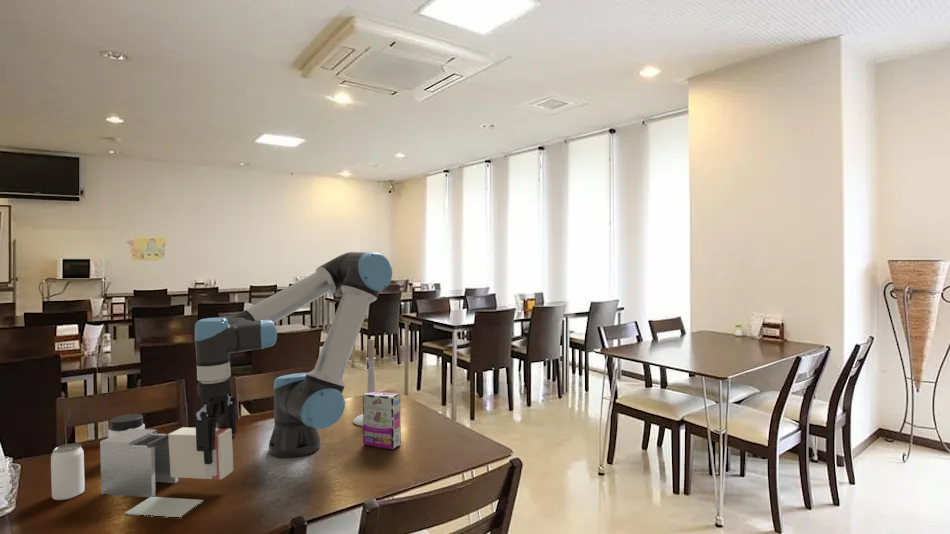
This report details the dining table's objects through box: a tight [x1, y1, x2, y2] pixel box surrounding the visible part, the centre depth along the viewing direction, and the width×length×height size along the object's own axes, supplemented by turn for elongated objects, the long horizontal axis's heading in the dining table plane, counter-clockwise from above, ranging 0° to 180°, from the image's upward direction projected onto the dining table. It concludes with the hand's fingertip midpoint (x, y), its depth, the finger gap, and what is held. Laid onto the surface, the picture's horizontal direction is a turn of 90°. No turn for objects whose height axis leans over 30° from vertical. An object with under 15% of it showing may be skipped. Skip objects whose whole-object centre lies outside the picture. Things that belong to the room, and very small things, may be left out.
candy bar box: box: [362, 390, 402, 450], centre depth 162 cm, size 11×5×16 cm, turn 68°
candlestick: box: [352, 338, 377, 426], centre depth 185 cm, size 13×13×30 cm
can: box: [50, 443, 85, 501], centre depth 129 cm, size 6×6×12 cm
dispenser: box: [99, 428, 179, 498], centre depth 133 cm, size 14×9×14 cm
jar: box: [107, 413, 146, 438], centre depth 152 cm, size 9×8×12 cm
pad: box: [124, 496, 204, 519], centre depth 123 cm, size 14×8×1 cm, turn 82°
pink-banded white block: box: [167, 426, 235, 481], centre depth 131 cm, size 14×5×11 cm, turn 82°
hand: (218, 469), depth 131 cm, fingers closed on pink-banded white block, 5 cm apart
